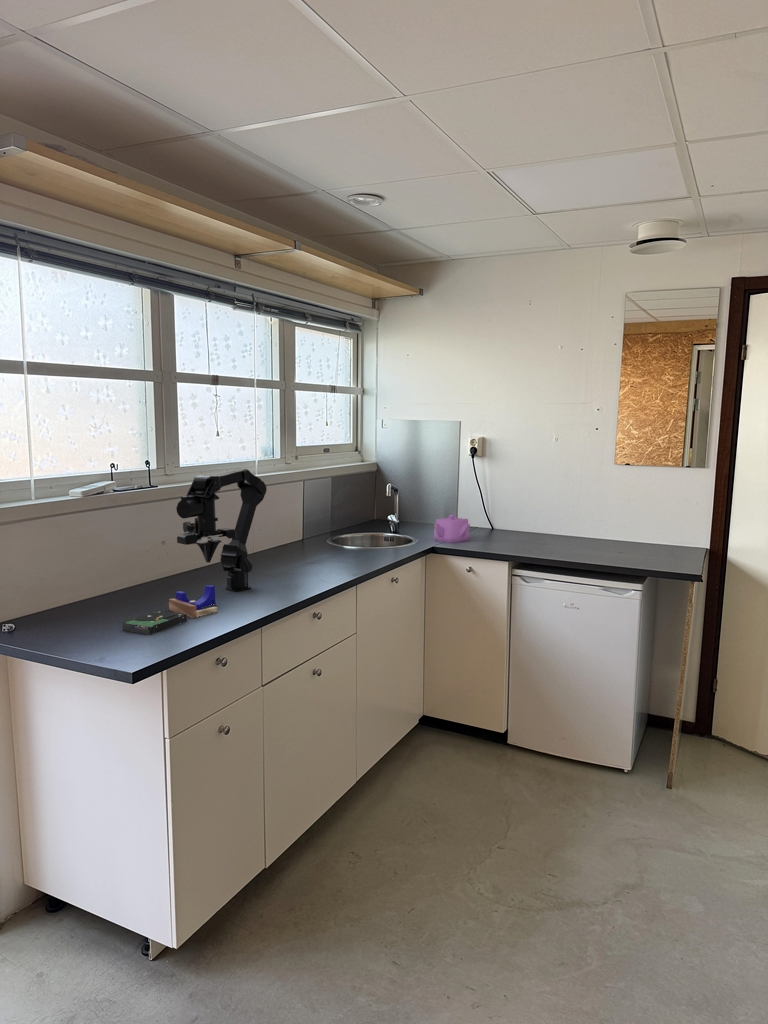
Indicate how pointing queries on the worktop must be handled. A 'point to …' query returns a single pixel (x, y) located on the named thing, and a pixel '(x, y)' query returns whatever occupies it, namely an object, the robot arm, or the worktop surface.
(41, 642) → the worktop surface
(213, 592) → the blue cradle bracket
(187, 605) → the frame
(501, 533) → the worktop surface
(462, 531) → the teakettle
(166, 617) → the disk drive
